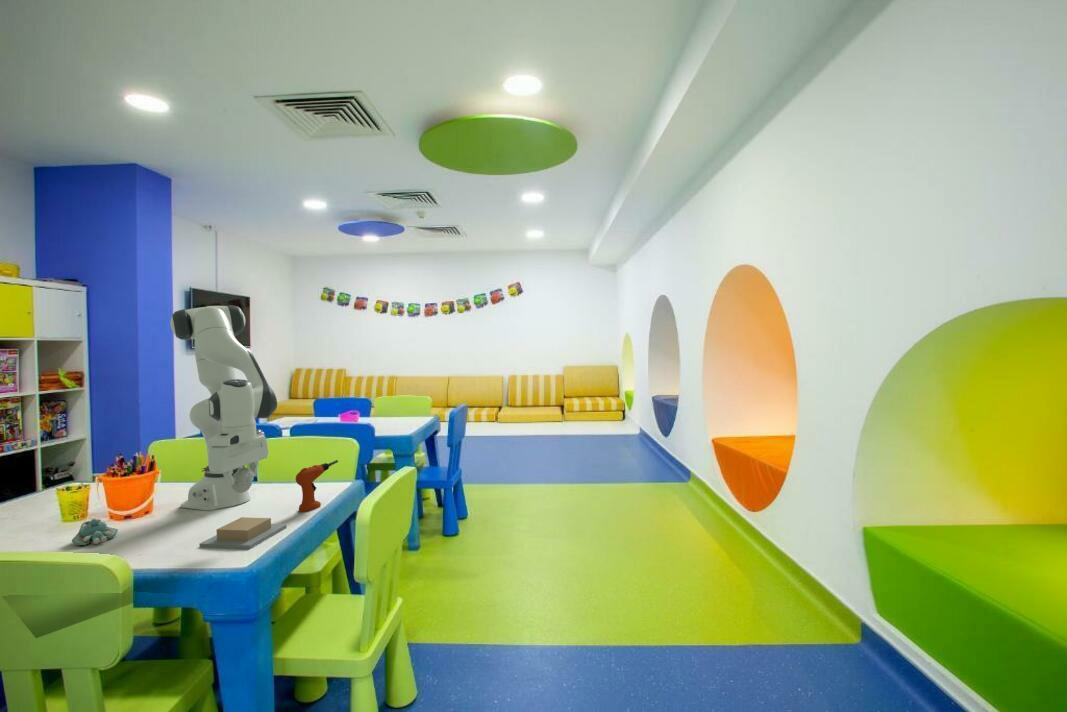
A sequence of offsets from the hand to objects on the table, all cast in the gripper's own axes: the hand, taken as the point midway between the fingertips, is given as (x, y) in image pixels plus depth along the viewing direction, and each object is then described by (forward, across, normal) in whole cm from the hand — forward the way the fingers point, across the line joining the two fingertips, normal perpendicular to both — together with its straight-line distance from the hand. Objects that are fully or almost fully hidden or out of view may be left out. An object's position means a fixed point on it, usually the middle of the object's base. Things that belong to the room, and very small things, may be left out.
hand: (241, 480), depth 150 cm
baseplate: (+17, 0, 0) cm, 17 cm away
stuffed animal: (+17, +7, -45) cm, 48 cm away
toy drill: (+17, -30, +6) cm, 35 cm away
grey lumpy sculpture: (+4, 0, 0) cm, 4 cm away
